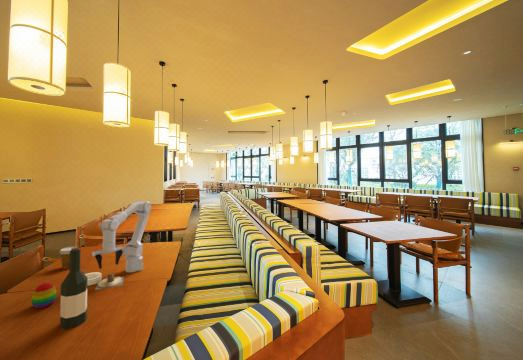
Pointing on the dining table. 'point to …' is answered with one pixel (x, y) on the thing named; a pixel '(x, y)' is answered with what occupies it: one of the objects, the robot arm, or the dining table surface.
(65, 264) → the disposable coffee cup
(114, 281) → the lid
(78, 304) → the wine bottle
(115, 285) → the mat
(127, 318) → the dining table surface
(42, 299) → the decorative egg
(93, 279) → the bowl
